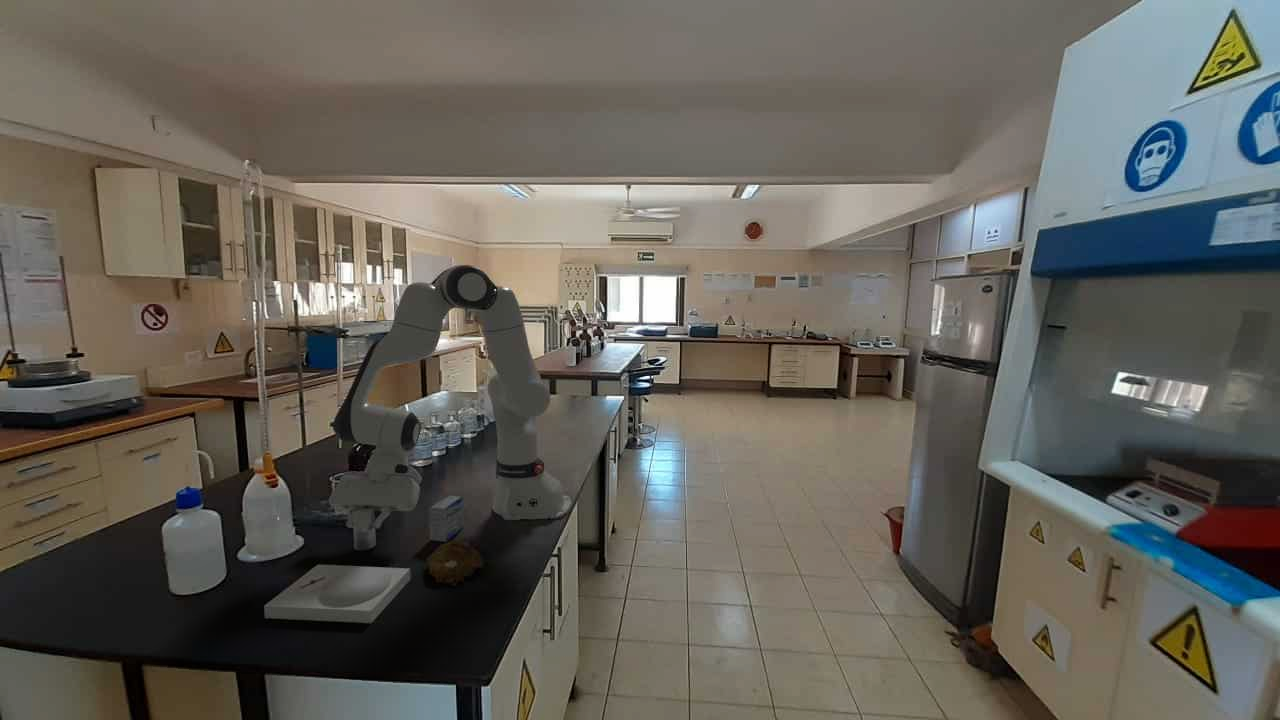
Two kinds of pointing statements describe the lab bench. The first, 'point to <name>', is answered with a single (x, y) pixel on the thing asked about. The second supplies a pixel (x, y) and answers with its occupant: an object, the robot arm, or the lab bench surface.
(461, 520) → the medicine box
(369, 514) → the cylinder
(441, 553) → the decorative rock
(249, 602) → the lab bench surface
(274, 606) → the white shallow tray
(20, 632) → the lab bench surface
